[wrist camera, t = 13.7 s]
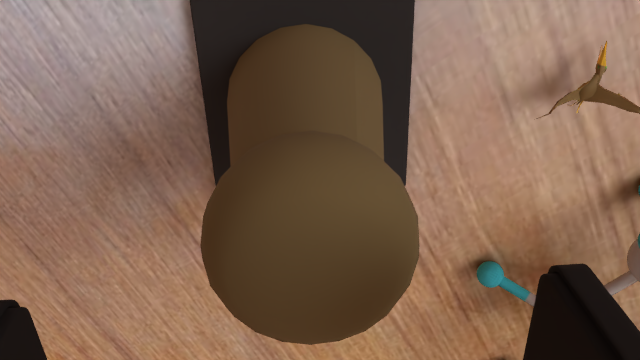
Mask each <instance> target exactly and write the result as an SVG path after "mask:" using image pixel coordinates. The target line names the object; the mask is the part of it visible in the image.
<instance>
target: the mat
mask: <svg viewBox="0 0 640 360" xmlns="http://www.w3.org/2000/svg"><path fill="white" fill-rule="evenodd" d="M414 3H415V0H190V5H191V13H192V20H193V27H194V34H195V41H196V48H197V55H198V62H199V69H200V77H201V84H202V91H203V98H204V105H205V112H206V119H207V126H208V134H209V141H210V148H211V155H212V162H213V169H214V176H215V183H216V186H217V184H218V182H219V180H220V178H221V176H222V175H223V174H224V173H225V172H226V171H227V170H228V169H229V168H230V167H231V165H230V147H229V129H228V111H227V97H228V88H229V79H230V77H231V75H232V73H233V70H234V68H235V66H236V64H237V62H238V60H239V58H240V56H241V55H242V54H243V53H244V52H245V51H246V50H247V49H248V48H249V47H250V46H251V45H252V44H253V43H254V42H255V41H256V40H257V39H259V38H261V37H263V36H265V35H267V34H269V33H271V32H273V31H275V30H277V29H279V28H282V27H289V26H295V25H302V24H309V25H315V26H321V27H326V28H332V29H334V30H336V31H337V32H339V33H341V34H343V35H345V36H347V37H349V38H350V39H352V40H354V41H355V42H356V43H357V44H358V45H359V46H360V47H361V48H362V49H363V51H364V52H365V53H366V54H367V55H368V56H369V57H370V58H371V60H372V62H373V64H374V66H375V69H376V71H377V73H378V75H379V78H380V80H381V90H382V102H383V141H384V162H385V163H386V164H387V165H388V166H389V167H390V168H391V169H392V170H393V171H394V172H396V173H397V174H398V175H399V176H400V178H401V180H402V182H403V184H404V186H405V185H406V168H407V147H408V126H409V106H410V85H411V65H412V44H413V24H414Z"/></svg>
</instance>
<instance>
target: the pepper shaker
mask: <svg viewBox="0 0 640 360" xmlns="http://www.w3.org/2000/svg"><path fill="white" fill-rule="evenodd" d="M227 111H228V129H229V147H230V165H231V167H230V168H229V169H228V170H227V171H226V172H225V173H224V174H223V175H222V176H221V178H220V180H219V182H218V184H217V186H216V188H215V189H214V191H213V193H212V195H211V197H210V199H209V201H208V203H207V206H206V209H205V213H204V216H203V225H202V235H201V252H202V258H203V262H204V266H205V269H206V272H207V276H208V279H209V283H210V286H211V287H212V289H213V290H214V291H215V293H216V294H217V295H218V297H219V298H220V299H221V301H222V302H223V303H224V305H225V306H226V307H227V309H228V310H229V311H230V312H231V313H232V314H233V316H234V317H236V318H237V319H238V320H240V321H241V322H243V323H244V324H245V325H247V326H248V327H250V328H251V329H252V330H254V331H255V332H257V333H260V334H263V335H265V336H268V337H271V338H274V339H276V340H279V341H282V342H290V343H300V344H309V345H312V344H319V343H327V342H335V341H340V340H343V339H345V338H348V337H351V336H353V335H356V334H359V333H361V332H364V331H366V330H367V329H369V328H370V327H371V326H373V325H374V324H376V323H377V322H378V321H380V320H381V319H382V318H384V317H385V316H387V314H388V313H389V312H390V311H391V309H392V308H393V307H394V305H395V304H396V303H397V301H398V300H399V299H400V298H401V296H402V295H403V294H404V292H405V291H406V289H407V288H408V287H409V285H410V283H411V280H412V276H413V273H414V270H415V267H416V264H417V261H418V256H419V230H418V216H417V213H416V211H415V208H414V206H413V203H412V201H411V199H410V197H409V195H408V193H407V190H406V188H405V186H404V184H403V182H402V180H401V178H400V176H399V175H398V174H397V173H396V172H394V171H393V170H392V169H391V168H390V167H389V166H388V165H387V164H386V163H385V162H384V141H383V102H382V90H381V80H380V78H379V75H378V73H377V71H376V69H375V66H374V64H373V62H372V60H371V58H370V57H369V56H368V55H367V54H366V53H365V52H364V51H363V49H362V48H361V47H360V46H359V45H358V44H357V43H356V42H355V41H354V40H352V39H350V38H349V37H347V36H345V35H343V34H341V33H339V32H337V31H336V30H334V29H332V28H326V27H321V26H315V25H309V24H302V25H295V26H289V27H282V28H279V29H277V30H275V31H273V32H271V33H269V34H267V35H265V36H263V37H261V38H259V39H257V40H256V41H255V42H254V43H253V44H252V45H251V46H250V47H249V48H248V49H247V50H246V51H245V52H244V53H243V54H242V55H241V56H240V58H239V60H238V62H237V64H236V66H235V68H234V70H233V73H232V75H231V77H230V79H229V88H228V97H227Z"/></svg>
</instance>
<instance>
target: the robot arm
mask: <svg viewBox="0 0 640 360" xmlns="http://www.w3.org/2000/svg"><path fill="white" fill-rule="evenodd" d="M0 360H47V358H46V355H45V352H44V350H43V347H42V344H41V342H40V339H39V336H38V334H37V331H36V328H35V326H34V323H33V320H32V318H31V315H30V313H29V311H28V309H27V308H25V307H20V306H19V304H18V303H17V302H16V301H15V300H0ZM523 360H640V331H639V330H638V329H637V328H636V326H635V325H634V324H633V323H632V321H631V320H630V319H629V317H628V316H627V315H626V314H625V312H624V311H623V310H622V308H621V307H620V306H619V305H618V303H617V302H616V301H615V300H614V298H613V297H612V296H611V294H610V293H609V292H608V291H607V289H606V288H605V287H604V286H603V284H602V283H601V282H600V280H599V279H598V278H597V277H596V275H595V274H594V273H593V271H592V270H591V269H590V268H589V267H588V266H587V265H585V264H570V265H554V266H551V268H550V269H549V271H548V274H543V275H541V277H540V279H539V284H538V289H537V294H536V299H535V303H534V308H533V313H532V318H531V323H530V328H529V333H528V338H527V343H526V348H525V353H524V358H523Z"/></svg>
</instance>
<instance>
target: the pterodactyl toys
mask: <svg viewBox="0 0 640 360" xmlns="http://www.w3.org/2000/svg"><path fill="white" fill-rule="evenodd" d="M606 46H607V41H606V44H605V46H604V48H603V50H602V46H601V50H600V54H599V57H598V61H597V65H596V73H595V75H594V76H593V77H592V79H591V80H590V81H588V82H587V83H584V84H582V85H581V86H580V87H579V88H578V89H577V90H575V91H573V92H570V93H568V94H567V95H565V96H564V97H563V98H561V99H560V100H559V101H557V103H556V104H555V105H554V107H553V108H552V110H551V111H550V112H549V114H551V112H552V111H553V110H554V109H555V108H556V107H557V106H559V105H561V104H564V103H566V102H569V101H571V100H578V101H579V100H580V101H579V102H578V101H577V102H578V103H577V104H579V103H580V102H581V103H580V105H581V104H582V102H583V101H589V102H599V103H605V104H609V105H612V106H616V107H618V108H621V109H624V110H626V111H629V112H635V113H639V114H640V107H638V106H637V105H635V104H634V103H632V102H631V101H629V100H628V99H626V98H625V97H623V96H620V93H618V94H616V93H613V92H611V91H609V90H607V89H604V88H603V87H602V86H600V85H599V82H600V79H601V77H602V74H603V73H604V72H605V71H606ZM597 82H598V83H597ZM574 104H575V103H574ZM574 104H573V105H574ZM577 104H576V105H577ZM580 105H579V107H580ZM570 106H571V105H570ZM579 107H578V109H579ZM578 109H577V111H578ZM546 115H548V114H546ZM546 115H544V116H546ZM542 117H543V116H542ZM539 118H540V117H539ZM537 119H538V118H537ZM534 120H535V119H534Z"/></svg>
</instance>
